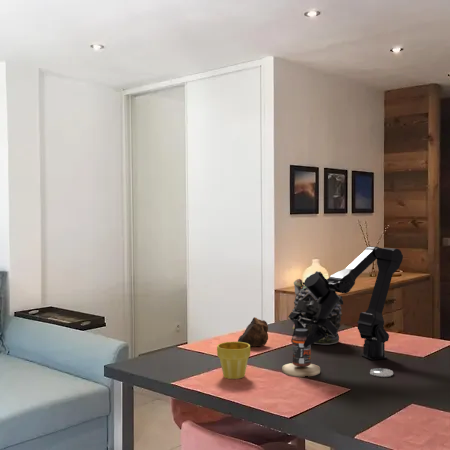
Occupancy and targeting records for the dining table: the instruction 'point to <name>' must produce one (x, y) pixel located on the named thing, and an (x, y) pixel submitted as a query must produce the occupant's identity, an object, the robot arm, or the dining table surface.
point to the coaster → (301, 370)
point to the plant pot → (233, 358)
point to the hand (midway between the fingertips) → (298, 344)
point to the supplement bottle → (301, 348)
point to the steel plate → (381, 372)
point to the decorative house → (308, 296)
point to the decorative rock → (255, 333)
